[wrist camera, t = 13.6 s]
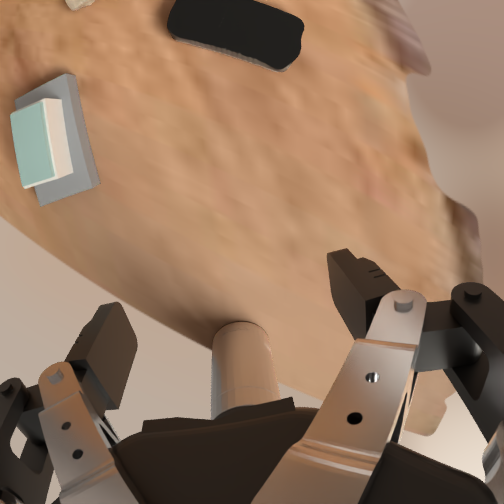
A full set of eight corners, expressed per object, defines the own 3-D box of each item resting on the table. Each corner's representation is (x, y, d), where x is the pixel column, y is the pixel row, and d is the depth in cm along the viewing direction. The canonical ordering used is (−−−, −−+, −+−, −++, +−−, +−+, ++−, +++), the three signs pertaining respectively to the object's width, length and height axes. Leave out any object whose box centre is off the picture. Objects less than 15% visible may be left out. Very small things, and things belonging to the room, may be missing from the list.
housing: (61, 99, 32) (41, 97, 28) (73, 172, 36) (55, 179, 31) (29, 112, 32) (7, 113, 27) (41, 182, 36) (21, 190, 31)
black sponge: (165, 41, 34) (160, 34, 31) (190, -11, 31) (187, -22, 28) (284, 79, 37) (289, 75, 34) (306, 27, 34) (313, 19, 31)
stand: (100, 183, 40) (92, 187, 37) (50, 201, 40) (40, 206, 37) (75, 75, 34) (65, 73, 31) (25, 100, 34) (14, 100, 31)
